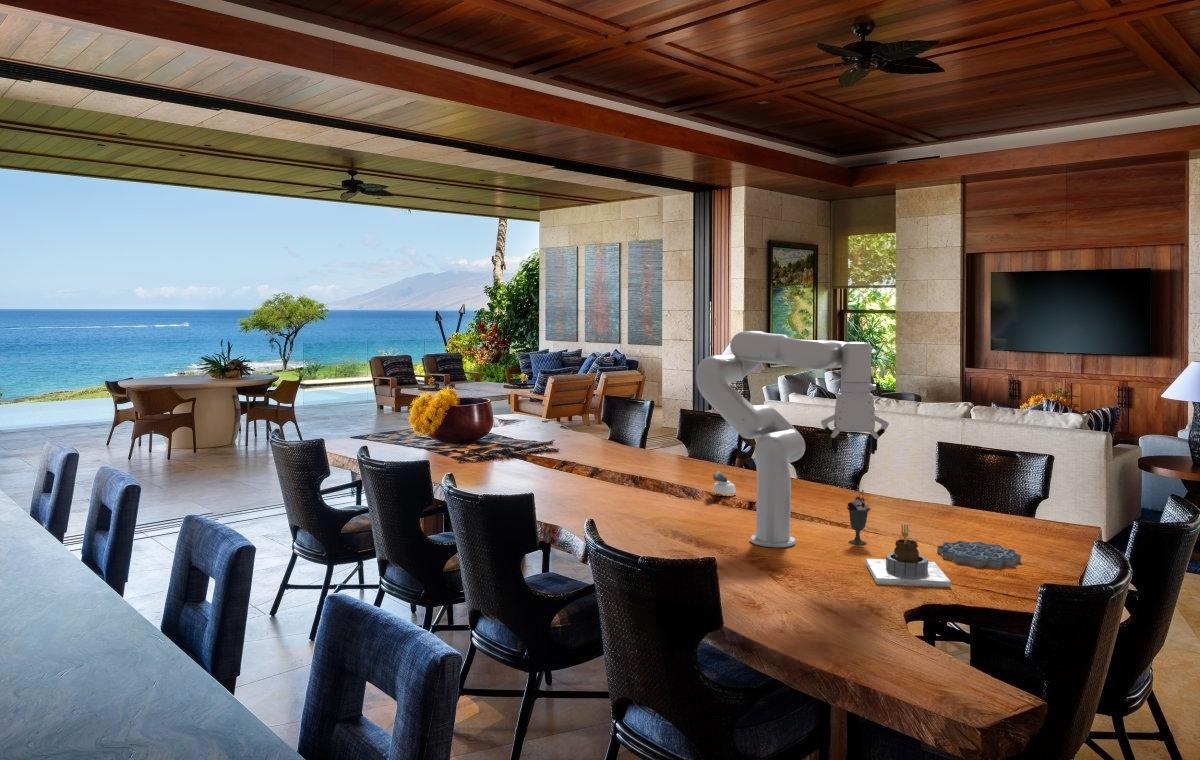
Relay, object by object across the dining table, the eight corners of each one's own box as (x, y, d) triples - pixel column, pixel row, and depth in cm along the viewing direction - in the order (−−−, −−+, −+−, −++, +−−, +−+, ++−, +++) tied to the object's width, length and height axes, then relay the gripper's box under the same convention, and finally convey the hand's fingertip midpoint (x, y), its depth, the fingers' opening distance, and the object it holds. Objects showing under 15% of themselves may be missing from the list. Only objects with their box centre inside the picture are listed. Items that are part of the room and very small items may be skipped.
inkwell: (739, 493, 312) (739, 466, 312) (729, 503, 295) (729, 474, 295) (714, 491, 315) (714, 464, 315) (703, 501, 299) (703, 472, 298)
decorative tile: (951, 545, 243) (951, 537, 243) (1027, 557, 230) (1027, 549, 230) (928, 560, 227) (928, 551, 227) (1008, 574, 215) (1008, 565, 214)
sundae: (869, 540, 245) (870, 489, 244) (869, 546, 239) (871, 494, 238) (845, 539, 247) (846, 488, 246) (845, 544, 241) (847, 492, 240)
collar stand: (865, 564, 222) (866, 547, 221) (934, 567, 219) (934, 550, 219) (876, 583, 205) (877, 565, 204) (950, 587, 202) (951, 569, 202)
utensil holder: (920, 568, 213) (922, 520, 212) (915, 574, 208) (917, 526, 207) (895, 564, 216) (897, 518, 215) (890, 570, 211) (892, 523, 210)
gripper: (886, 388, 227) (884, 451, 228) (820, 387, 230) (818, 449, 231) (892, 390, 220) (890, 456, 221) (823, 389, 222) (821, 454, 224)
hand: (853, 452), depth 226 cm, fingers open, 9 cm apart
